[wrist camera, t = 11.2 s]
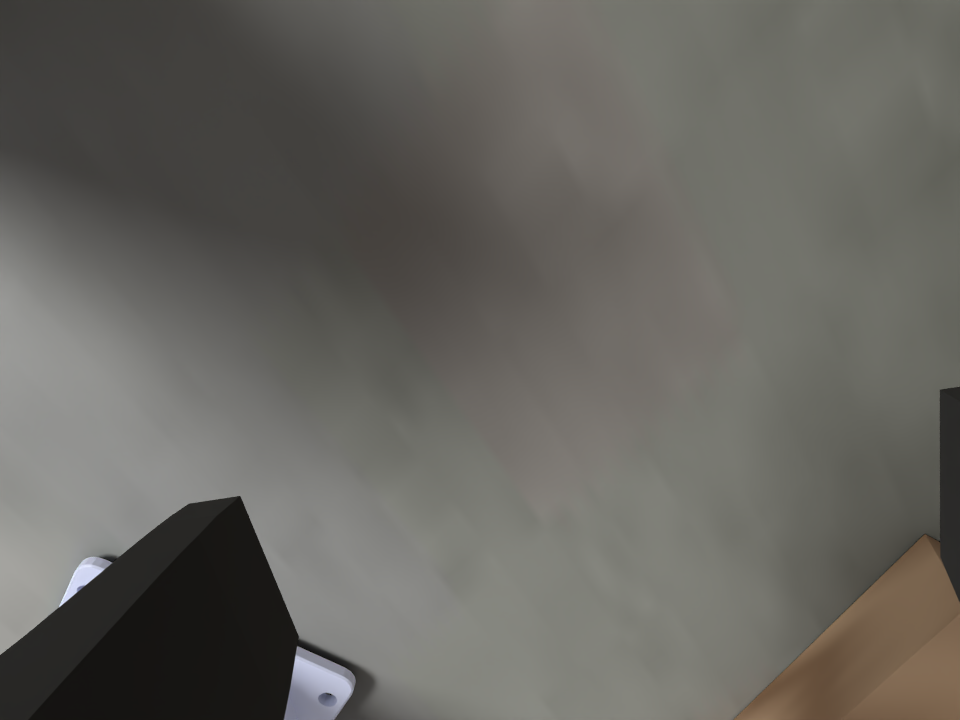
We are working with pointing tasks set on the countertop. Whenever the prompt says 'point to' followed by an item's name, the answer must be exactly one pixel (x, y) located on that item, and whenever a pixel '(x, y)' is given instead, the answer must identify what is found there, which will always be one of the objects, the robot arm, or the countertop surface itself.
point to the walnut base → (879, 653)
